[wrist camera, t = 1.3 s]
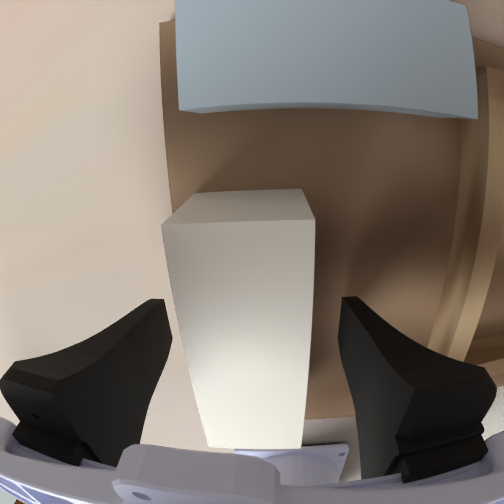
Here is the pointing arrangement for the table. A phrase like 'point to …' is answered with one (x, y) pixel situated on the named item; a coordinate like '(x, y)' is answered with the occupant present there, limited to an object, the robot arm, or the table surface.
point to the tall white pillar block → (245, 311)
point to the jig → (371, 211)
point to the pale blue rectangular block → (326, 56)
